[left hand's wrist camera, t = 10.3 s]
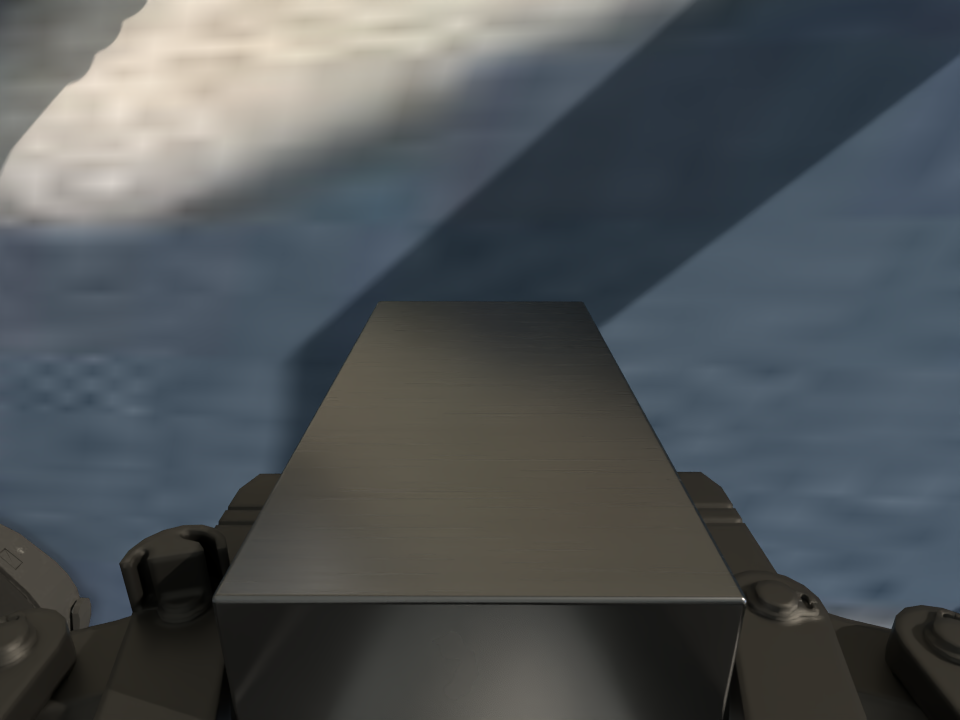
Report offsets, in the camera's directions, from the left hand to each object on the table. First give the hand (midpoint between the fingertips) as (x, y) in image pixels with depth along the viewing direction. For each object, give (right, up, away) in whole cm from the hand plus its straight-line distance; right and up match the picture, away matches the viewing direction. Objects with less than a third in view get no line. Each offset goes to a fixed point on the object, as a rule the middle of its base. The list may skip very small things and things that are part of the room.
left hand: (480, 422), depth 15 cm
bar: (0, -9, +4) cm, 10 cm away
